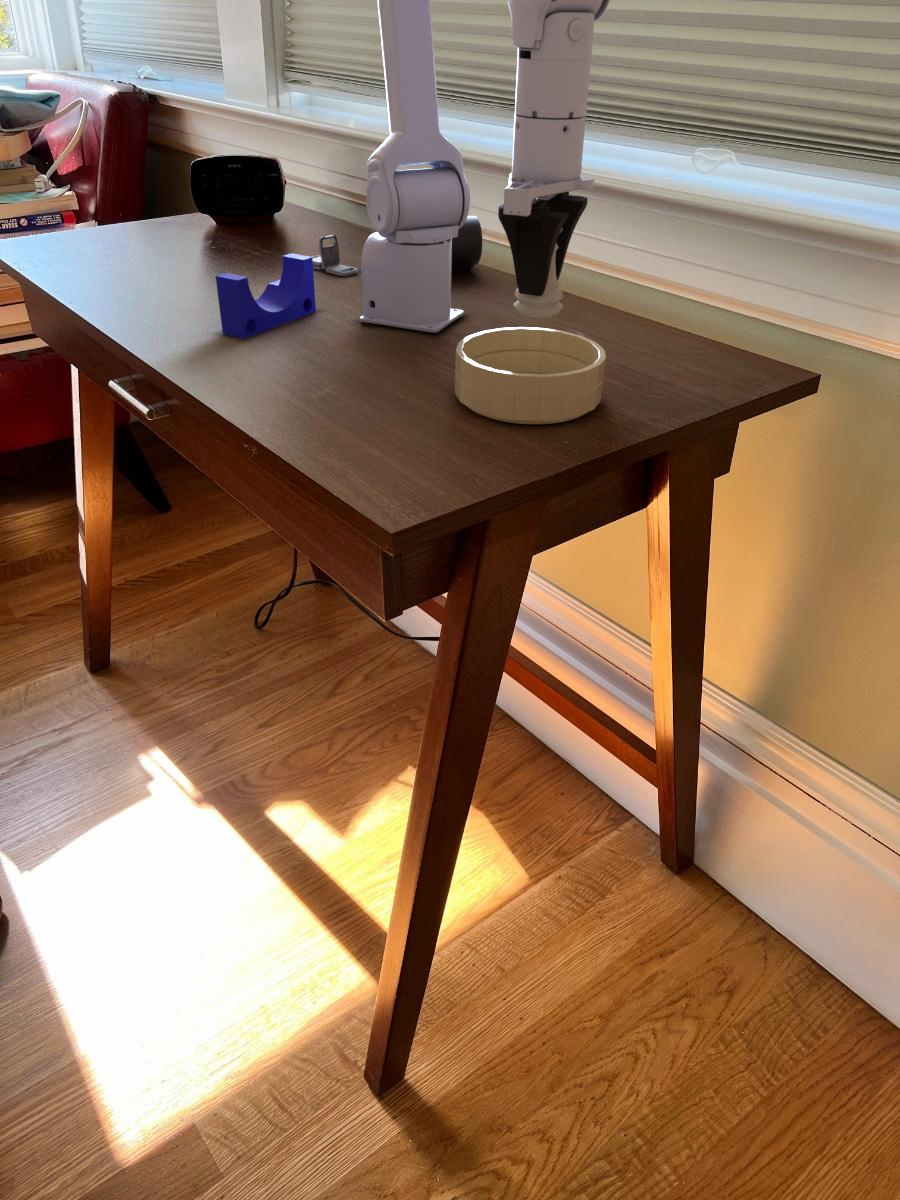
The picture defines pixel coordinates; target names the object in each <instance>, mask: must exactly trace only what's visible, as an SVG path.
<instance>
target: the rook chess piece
mask: <svg viewBox="0 0 900 1200" xmlns="http://www.w3.org/2000/svg"><path fill="white" fill-rule="evenodd" d="M562 230H563V229H561V231H562ZM561 231H560V233H561ZM558 248H559V247H558V245H557V244H555V248H554V252H553V255H552V260H551V265H550V271H549V276H548V281H547V285H546V288H545V291H544V293H543V295H542V296H535V295H527V294H520V293H519V290H518V287H517V288H516V289H515V291H514V297H515V299H516V301H515V302H514V303H513V308H514V309H515V311H516V313H518V314H520V315H522V316H525V317H531V318H552V317H555V316H557V315H559V314H560V312H561V311H562V310H563V309H564V306H563V304H562V303H561V300H562V299H563V298H564V294H563V291H562V289H561V288H560V287H559V286H560V282H559V280H558V281H557V278H556V264H555V258H556V250H557V249H558Z"/></svg>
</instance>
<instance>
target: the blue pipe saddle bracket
mask: <svg viewBox="0 0 900 1200" xmlns="http://www.w3.org/2000/svg"><path fill="white" fill-rule="evenodd" d="M215 283H216V290H217V291H216V292H217V299H218V300H217V301H218V307H219V315H220V323H221V332H222V334H223V335H225V336H229V337H235V338H239V339H243V340H244V339H247V338H249V337H253V336H255V335H258V334H261V333H263V332H266V331H268V330H271V329H274V328H276V327H279V326H282V325H285V324H287V323H289V322H292V321H295V320H297V319H300V318H303V317H306V316H308V315H311V314H313V313H317V308H316V307H317V305H316V291H315V290H316V289H315V277H314V268H313V258H312V256H309V255H302V254H296V253H292V252H291V253H288V254H285V255H282V270H281V276H280V279H277V280H275V281H272V282H269V283H267V285H266V287H265V288H264V291H263V292H262V294H261V295H260V296H259V297H258V298H256V300H255V298H254V296H253V293H252V291H251V289H250V285H249V279H248V277H247V276H243V275H239V274H238V275H237V274H233V273H230V272H229V273H228V272H225V273H220V274H217V275H215Z"/></svg>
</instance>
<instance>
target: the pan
mask: <svg viewBox="0 0 900 1200" xmlns="http://www.w3.org/2000/svg"><path fill="white" fill-rule="evenodd" d="M454 361H455V363H454V365H455V366H454V395H455V396H456V398H457V399H458V401H459V403H461V404H463V405H464V406H465V407H467V408H468V409H470V410H471V411H473V412H474V413H476V414H479V415H481V416H483V417H485V418H489V419H492V420H495V421H500V422H506V423H512V424H521V425H548V424H549V425H550V424H557V423H565V422H569V421H572V420H575V419H578V418H580V417H583V416H584V415H586V414H587V413H590V412H592V411H593V410H595V409H596V408H597V407H598V405H599V404H600V403H601V401H602V398H603V397H602V396H603V387H604V378H605V370H606V361H607V355H606V350H605V349H604V348H603V347H602V346H601V345H600V344H599V343H598V342H596V341H594V340H592V339H589V338H587V337H586V336H583V335H581V334H580V335H579V334H576V333H572V332H569V331H565V330H558V329H551V328H544V327H527V326H526V327H525V326H518V327H516V326H515V327H500V328H499V327H498V328H494V329H487V330H482V331H479V332H476V333H473V334H469V335H467V336H465V337H464V338H462V339H461V340H460V341H459V342H457V344H456V347H455V360H454Z"/></svg>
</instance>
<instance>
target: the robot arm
mask: <svg viewBox="0 0 900 1200" xmlns="http://www.w3.org/2000/svg"><path fill="white" fill-rule="evenodd" d="M506 2H507V6H508V10H509V12H510V13H509V14H510V17H511V35H510V36H511V39H512V45H513V47H514V48H517V59H516V62H517V63H516V79H515V80H516V82H515V103H514V120H513V121H514V122H513V141H512V157H511V159H512V160H511V161H512V162H511V172H510V173H509V175H508V185H507V186H506V187H505V188H504V191H503V193H504V194H503V204H501V205H499V206H498V209H497V210H498V211H497V212H498V213H497V214H498V221H499V222H500V224H501V226H502V228H503V230H504V232H505V235H506V238H507V240H508V244H509V247H510V251H511V255H512V261H513V268H514V273H515V279H516V285H517V288H518V290H519V293H520V294H527V295H535V296H542V295H543V293H544V291H545V288H546V285H547V281H548V276H549V271H550V265H551V260H552V255H553V252H554V248H555V244H557V245H558V247H559V248H558V249H557V250H556V258H555V264H556V278H557V281H558V282H559V279H560V277H561V273H562V270H563V268H564V267H563V266H564V263H565V260H566V256H567V252H568V248H569V245H570V242H571V240H572V236H573V234H574V232H575V229H576V227H577V224H578V222H579V220H580V218H581V217H582V215H583V213H584V211H585V210H586V208H587V205H588V201H589V199H588V197H587V196H582V195H572V194H570V192H573V191H578V190H590V189H592V188H594V186H595V177H592V176H584V175H583V174H582V169H583V165H582V164H583V154H584V142H585V130H586V128H585V127H586V120H587V119H586V118H587V109H588V98H589V97H588V96H589V84H590V75H591V63H592V52H593V40H594V30H595V21H597V20H598V19H600V18H601V16H603V14H604V13H605V11H606V10H607V8H608V6H609V4H610V2H611V0H506ZM377 9H378V21H379V30H380V40H381V51H382V52H381V53H382V61H383V71H384V83H385V92H386V103H387V114H388V124H389V136H388V137H387V138H386V139H385V140H384V141H383V142H382V143H381V144H380V145H379V147H377V148H376V149H375V150H374V151H373V153H371V155H370V157H369V158H368V160H367V161H366V162H367V165H366V168H367V170H366V171H367V186H366V192H365V203H366V212H367V217H368V219H369V222H370V224H371V226H372V228H373V229H374V230H375V231H376V232H373V233H371V234H370V235H368V237H367V239H366V240H365V241H364V244H363V248H362V251H361V252H362V253H361V261H360V267H361V268H360V269H361V270H360V271H361V299H362V315H361V316H360V317H359V321H360V322H362V323H369V324H374V325H381V326H386V327H393V328H398V329H399V328H401V329H406V330H412V331H419V332H425V333H435V334H436V333H438V332H440V331H442V330H443V329H445V328H446V327H447V326H449V325H450V324H452V323H453V322H455V321H456V320H458V319H459V318H461V317H462V316H463V315H464V313H465V311H464V310H463V309H458V308H451V306H452V270H451V261H452V238H454V237H458V229H459V228H461V227H462V226H463V225H464V223H465V221H466V219H467V216H469V214H470V210H471V190H470V186H469V183H468V180H467V177H466V173H465V169H464V163H463V154H462V153H463V152H461V150H460V149H459V148H458V147H457V146H455V144H453V143H452V142H451V141H450V140H449V139H448V138H446V137H445V135H443V134H442V132H441V130H440V118H439V106H438V105H439V104H438V93H437V79H436V65H435V53H434V50H435V49H434V38H433V27H432V13H431V12H432V11H431V10H432V9H431V0H377ZM412 165H414V166H415V165H429V166H431V167H429V168H428V167H427V168H417V169H416V168H415V169H413V168H412V169H401V170H399V169H398V167H400V166H412ZM397 169H398V170H397ZM561 229H563V230H562V231H561ZM560 231H561V233H560Z"/></svg>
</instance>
